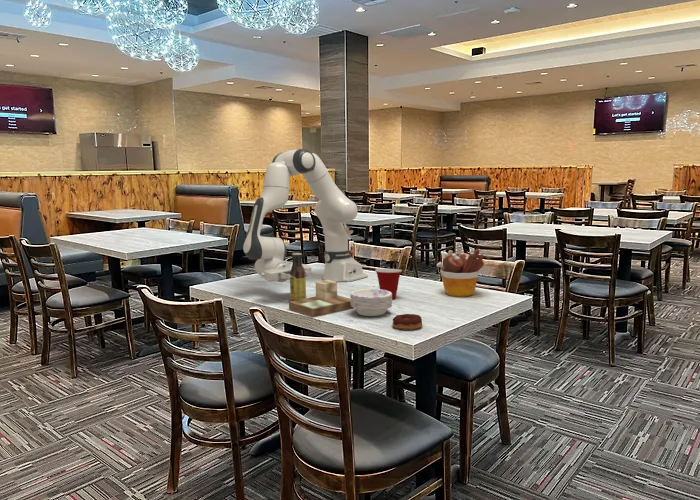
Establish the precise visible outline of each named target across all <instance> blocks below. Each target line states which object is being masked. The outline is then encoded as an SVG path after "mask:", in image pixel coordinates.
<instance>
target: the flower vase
mask: <svg viewBox="0 0 700 500" xmlns="http://www.w3.org/2000/svg"><path fill="white" fill-rule="evenodd" d="M341 223H342V226H343V228H344V230H345V231H346V232H347V234H348V241H349V240H351V239H352V237H351V236H352V234H353V233H354V230H352V229H351V230H350V227H349V226H348V225H346V223H344V222H341ZM322 233H323V234H324V230H322Z"/></svg>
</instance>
